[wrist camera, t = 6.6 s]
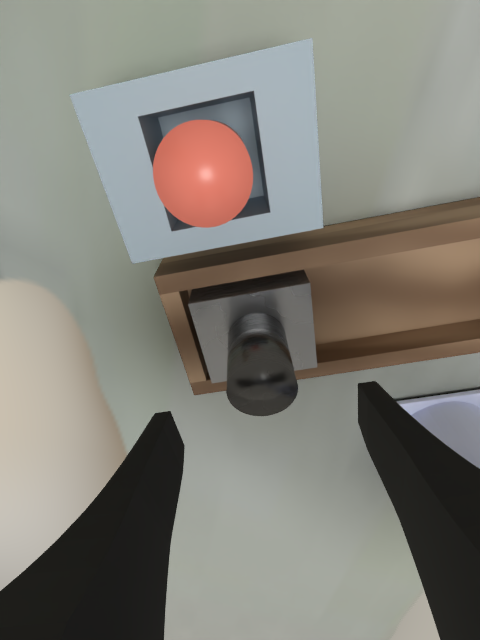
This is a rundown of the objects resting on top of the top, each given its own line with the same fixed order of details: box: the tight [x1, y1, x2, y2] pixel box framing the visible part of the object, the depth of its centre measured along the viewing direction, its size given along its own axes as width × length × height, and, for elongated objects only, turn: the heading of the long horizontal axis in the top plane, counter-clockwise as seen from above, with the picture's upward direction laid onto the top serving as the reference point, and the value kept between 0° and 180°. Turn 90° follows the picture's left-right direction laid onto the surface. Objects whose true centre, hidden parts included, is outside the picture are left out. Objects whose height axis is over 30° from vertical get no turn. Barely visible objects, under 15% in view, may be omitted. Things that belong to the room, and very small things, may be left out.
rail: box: [154, 197, 480, 395], centre depth 19 cm, size 8×19×3 cm, turn 101°
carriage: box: [188, 269, 317, 416], centre depth 17 cm, size 5×6×6 cm
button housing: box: [70, 38, 323, 264], centre depth 14 cm, size 6×8×5 cm
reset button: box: [153, 120, 253, 228], centre depth 12 cm, size 3×3×4 cm
